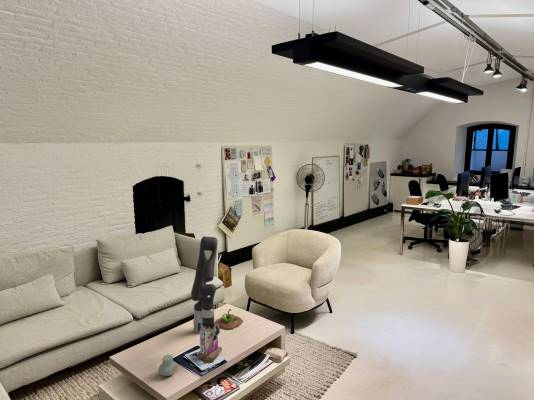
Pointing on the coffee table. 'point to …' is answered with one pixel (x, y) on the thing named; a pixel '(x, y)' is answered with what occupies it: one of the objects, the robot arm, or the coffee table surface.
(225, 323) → the plant
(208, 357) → the walnut plinth
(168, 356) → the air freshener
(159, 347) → the coffee table surface
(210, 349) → the candy bar box
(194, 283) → the robot arm
